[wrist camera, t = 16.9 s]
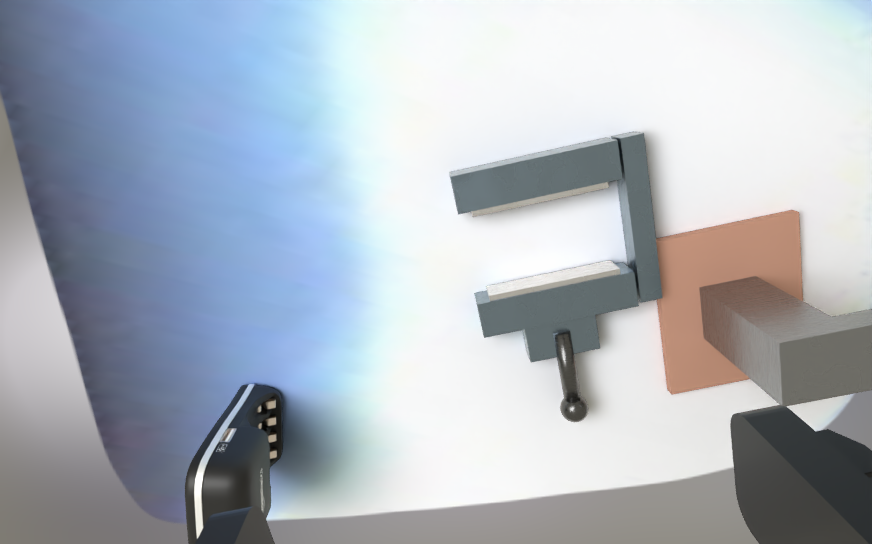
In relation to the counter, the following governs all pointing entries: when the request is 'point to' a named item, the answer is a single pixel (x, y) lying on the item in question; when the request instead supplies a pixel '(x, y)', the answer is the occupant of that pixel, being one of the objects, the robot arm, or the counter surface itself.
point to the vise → (576, 287)
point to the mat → (711, 264)
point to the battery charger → (236, 458)
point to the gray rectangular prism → (787, 341)
